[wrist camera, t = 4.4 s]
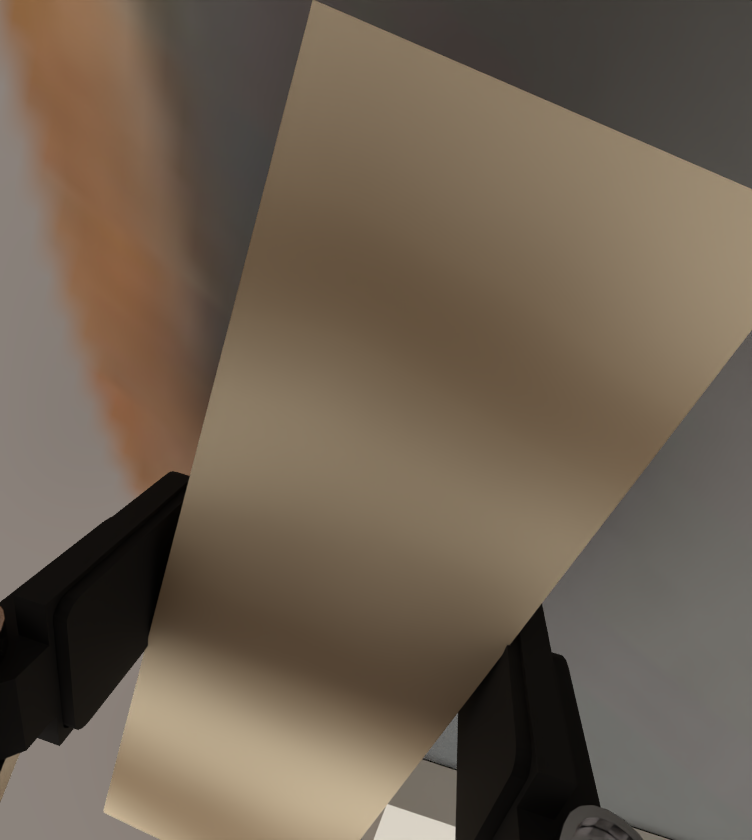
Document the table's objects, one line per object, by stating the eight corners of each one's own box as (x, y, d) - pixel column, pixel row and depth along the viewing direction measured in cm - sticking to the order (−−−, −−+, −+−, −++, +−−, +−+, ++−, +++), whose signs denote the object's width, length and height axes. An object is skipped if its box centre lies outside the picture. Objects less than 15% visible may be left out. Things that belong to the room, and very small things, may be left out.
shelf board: (368, 84, 8) (312, -1, 5) (701, 229, 8) (833, 224, 5) (169, 707, 15) (103, 811, 12) (336, 786, 15) (306, 909, 12)
